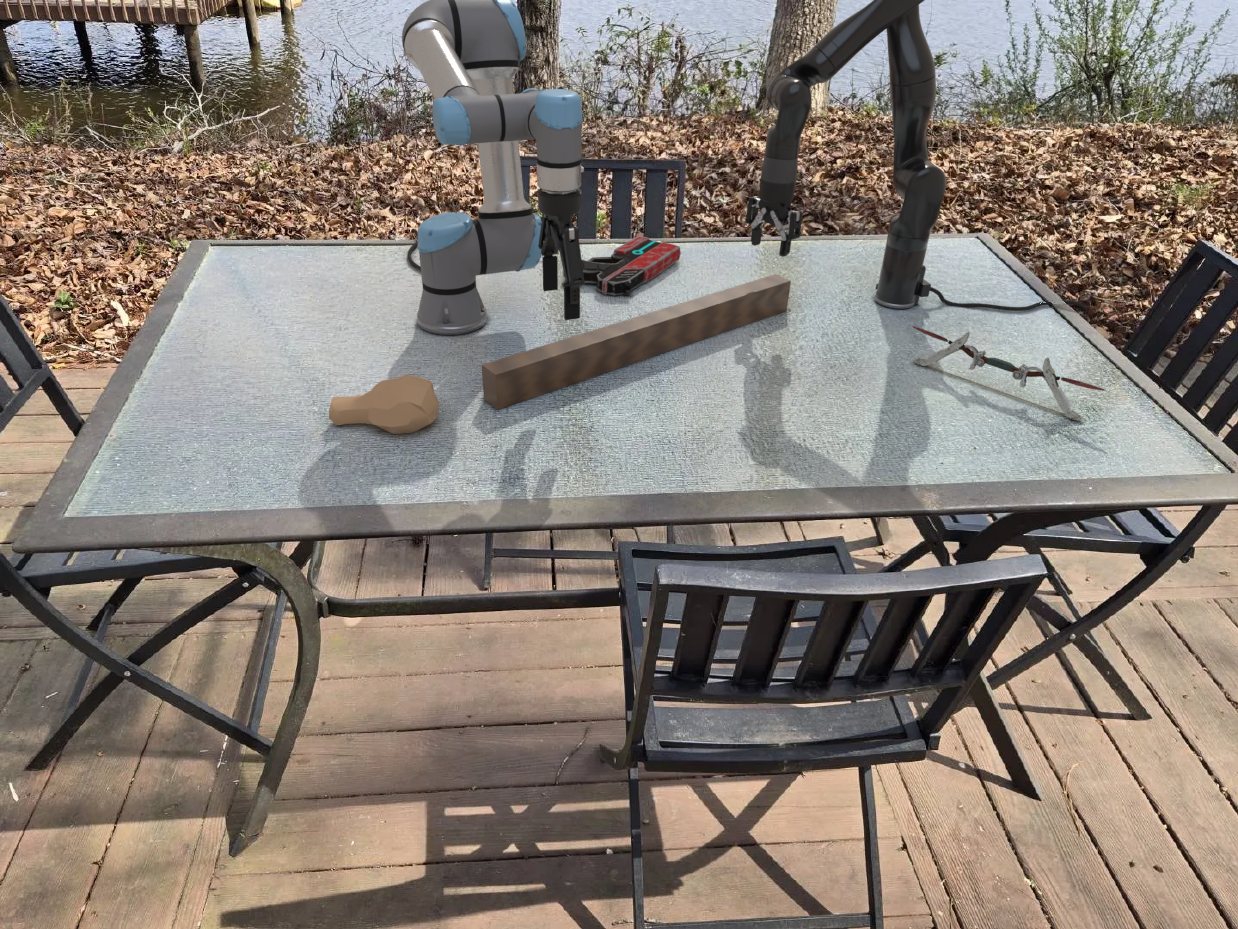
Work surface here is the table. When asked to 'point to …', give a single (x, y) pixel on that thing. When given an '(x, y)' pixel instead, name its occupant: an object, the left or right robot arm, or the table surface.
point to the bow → (1018, 373)
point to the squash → (390, 405)
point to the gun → (630, 265)
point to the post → (630, 341)
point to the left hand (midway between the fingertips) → (560, 303)
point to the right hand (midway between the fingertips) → (769, 250)
